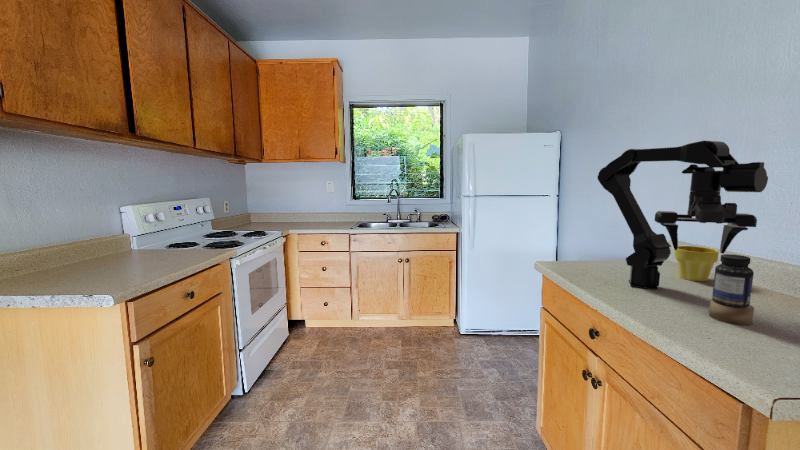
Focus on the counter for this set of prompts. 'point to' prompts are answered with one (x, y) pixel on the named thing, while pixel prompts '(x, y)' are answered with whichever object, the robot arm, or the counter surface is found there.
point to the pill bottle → (733, 281)
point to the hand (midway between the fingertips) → (698, 251)
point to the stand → (731, 314)
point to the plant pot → (695, 262)
